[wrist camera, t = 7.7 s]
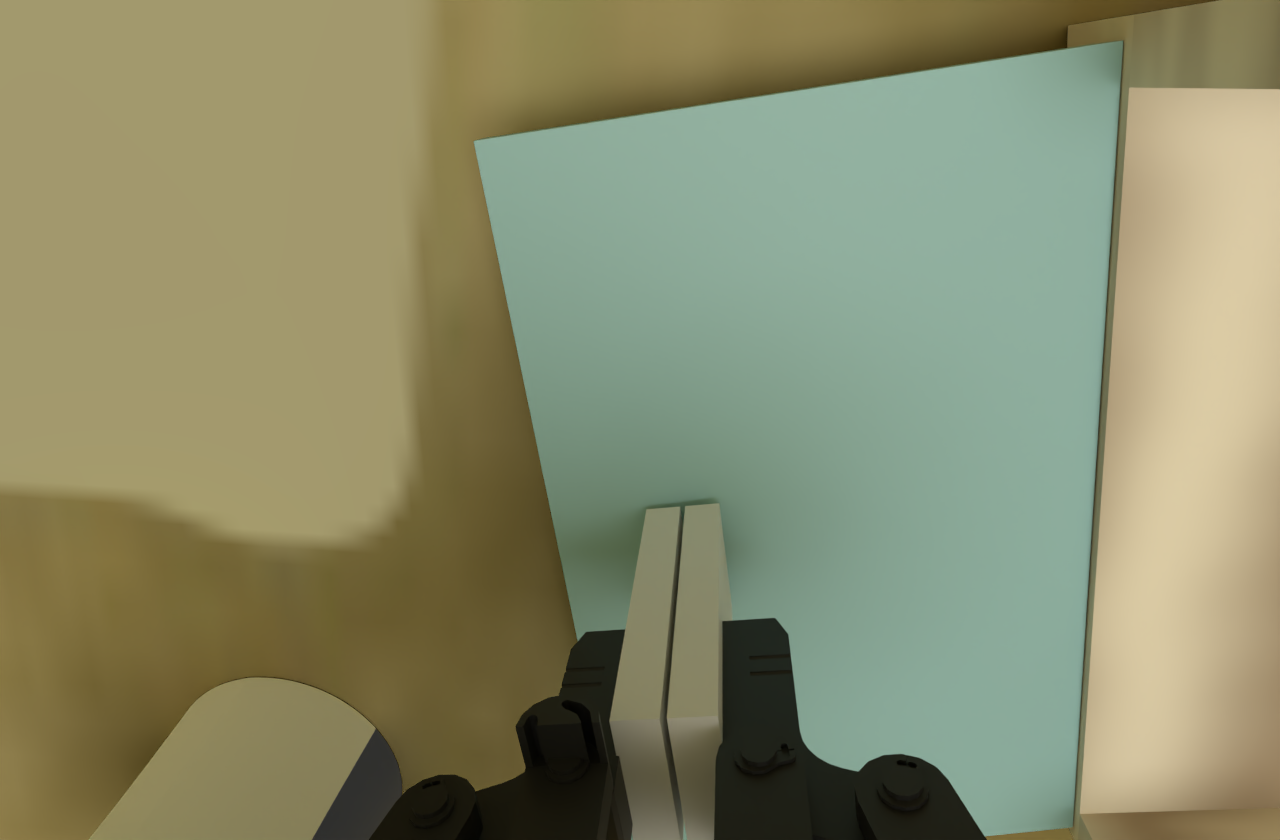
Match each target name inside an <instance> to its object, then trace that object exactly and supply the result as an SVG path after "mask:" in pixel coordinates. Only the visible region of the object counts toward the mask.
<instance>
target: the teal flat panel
mask: <svg viewBox="0 0 1280 840" xmlns="http://www.w3.org/2000/svg"><path fill="white" fill-rule="evenodd" d="M1122 53H1123V41H1114V42H1105V43H1096V44H1088V45H1082V46H1075V47H1069V48H1062V49H1056V50H1049V51H1043V52H1037V53H1030V54H1024V55H1017V56H1011V57H1004V58H998V59H991V60H985V61H978V62H972V63H965V64H959V65H953V66H946V67H940V68H933V69H927V70H920V71H914V72H907V73H901V74H894V75H888V76H882V77H875V78H869V79H862V80H856V81H849V82H843V83H836V84H830V85H823V86H817V87H810V88H804V89H798V90H791V91H785V92H778V93H772V94H765V95H759V96H752V97H746V98H739V99H733V100H726V101H720V102H714V103H707V104H701V105H694V106H688V107H681V108H675V109H668V110H662V111H655V112H649V113H643V114H636V115H630V116H623V117H617V118H610V119H604V120H597V121H591V122H584V123H578V124H571V125H565V126H559V127H552V128H546V129H539V130H533V131H526V132H520V133H513V134H507V135H500V136H494V137H487V138H483V139H479V140H475V141H474V145H475V150H476V155H477V160H478V164H479V169H480V174H481V179H482V184H483V188H484V193H485V198H486V203H487V208H488V212H489V217H490V222H491V227H492V232H493V236H494V241H495V246H496V251H497V256H498V261H499V265H500V270H501V275H502V280H503V285H504V289H505V294H506V299H507V304H508V309H509V313H510V318H511V323H512V328H513V333H514V337H515V342H516V347H517V352H518V357H519V361H520V366H521V371H522V376H523V381H524V385H525V390H526V395H527V400H528V405H529V409H530V414H531V419H532V424H533V429H534V434H535V438H536V443H537V448H538V453H539V458H540V462H541V467H542V472H543V477H544V482H545V486H546V491H547V496H548V501H549V506H550V510H551V515H552V520H553V525H554V530H555V534H556V539H557V544H558V549H559V554H560V558H561V563H562V568H563V573H564V578H565V582H566V587H567V592H568V597H569V602H570V607H571V611H572V616H573V621H574V626H575V631H576V635H577V640H578V641H579V639H580V638H581V637H582V636H583V635H584V634H585V632H590V631H606V630H621V629H626V623H627V617H628V612H629V606H630V600H631V595H632V589H633V583H634V577H635V572H636V566H637V560H638V555H639V549H640V543H641V537H642V532H643V526H644V520H645V515H646V509H657V508H668V507H680V509H681V516H682V523H683V525H684V513H685V506H692V505H704V504H716V503H719V505H720V513H721V521H722V529H723V537H724V546H725V554H726V562H727V570H728V578H729V586H730V594H731V602H732V620H748V619H763V618H776V619H777V621H778V622H779V623H780V624H781V626H782V627H783V628H784V629H785V631H786V632H787V633H788V636H789V644H790V653H791V661H792V669H793V678H794V686H795V694H796V703H797V711H798V720H799V728H800V733H801V736H802V740H803V742H804V743H805V745H806V746H807V748H808V749H809V750H810V751H811V752H812V753H813V754H814V755H816V756H817V757H818V758H820V759H822V760H823V761H825V762H827V763H829V764H832V765H835V766H838V767H841V768H844V769H849V770H853V771H859V770H860V769H861V768H862V767H863V766H864V765H865V764H866V763H867V762H868V761H870V760H873V759H875V758H878V757H880V756H882V755H892V754H904V755H909V756H914V757H918V758H921V759H923V760H925V761H927V762H928V763H930V764H932V765H934V766H936V767H937V768H938V769H939V770H940V771H941V772H942V773H943V774H944V776H945V777H946V778H947V779H948V780H949V782H950V783H951V785H952V786H953V788H954V789H955V791H956V793H957V794H958V796H959V797H960V799H961V800H962V802H963V803H964V805H965V807H966V808H967V810H968V811H969V813H970V814H971V816H972V818H973V819H974V821H975V822H976V824H977V825H978V827H979V828H980V830H981V832H982V833H983V835H984V836H992V835H1002V834H1012V833H1021V832H1031V831H1041V830H1051V829H1060V828H1070V827H1073V814H1074V799H1075V783H1076V768H1077V752H1078V737H1079V721H1080V706H1081V690H1082V675H1083V659H1084V643H1085V628H1086V612H1087V597H1088V581H1089V566H1090V550H1091V535H1092V519H1093V504H1094V488H1095V472H1096V457H1097V441H1098V426H1099V410H1100V395H1101V379H1102V364H1103V348H1104V333H1105V317H1106V302H1107V286H1108V270H1109V255H1110V239H1111V224H1112V208H1113V193H1114V177H1115V162H1116V146H1117V131H1118V115H1119V99H1120V84H1121V68H1122ZM631 840H633V836H631ZM683 840H687V835H686V830H685V824H684V833H683Z"/></svg>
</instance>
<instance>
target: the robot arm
mask: <svg viewBox="0 0 1280 840" xmlns="http://www.w3.org/2000/svg"><path fill="white" fill-rule="evenodd" d="M516 731H517V735H518V739H519V742H520V746H521V750H522V754H523V758H524V762H525V766H526V769H525V772H524V773H522V774H521V775H519V776H517V777H516V778H514V779H512V780H509V781H507V782H504V783H502V784H498V785H495V786H492V787H489V788H485V789H482V790H479V791H476V792H475V790H474V788H473V787H472V785H471V784H470V783H469V782H468V780H467V779H464V778H462V777H459V776H456V775H438V776H434V777H431V778H428V779H425V780H422V781H421V782H419V783H417V784H416V785H414V786H412V787H411V788H409V789H408V790H407V791H406V792H405V793H404V794H403V795H402V796H401V797H400V798H399V799H398V800H397V801H396V802H395V804H394V805H393V807H392V808H391V809H390V811H389V812H388V813H387V815H386V816H385V818H384V819H383V820H382V822H381V823H380V825H379V826H378V827H377V829H376V830H375V832H374V833H373V834H372V836H371V837H370V839H369V840H631V836H633V840H683V833H684V824H685V830H686V835H687V840H987V839H986V838H985V836H984V835H983V833H982V832H981V830H980V828H979V827H978V825H977V824H976V822H975V821H974V819H973V818H972V816H971V814H970V813H969V811H968V810H967V808H966V807H965V805H964V803H963V802H962V800H961V799H960V797H959V796H958V794H957V793H956V791H955V789H954V788H953V786H952V785H951V783H950V782H949V780H948V779H947V778H946V777H945V776H944V774H943V773H942V772H941V771H940V770H939V769H938V768H937V767H936V766H934V765H932V764H930V763H928V762H927V761H925V760H923V759H921V758H918V757H914V756H909V755H904V754H892V755H882V756H880V757H878V758H875V759H873V760H870V761H868V762H867V763H866V764H865V765H864V766H863V767H862V768H861V769H860V770H859V771H853V770H849V769H844V768H841V767H838V766H835V765H832V764H829V763H827V762H825V761H823V760H822V759H820V758H818V757H817V756H816V755H814V754H813V753H812V752H811V751H810V750H809V749H808V748H807V746H806V745H805V743H804V742H803V740H802V736H801V733H800V728H799V720H798V711H797V703H796V694H795V686H794V678H793V669H792V661H791V653H790V644H789V636H788V633H787V632H786V631H785V629H784V628H783V627H782V626H781V624H780V623H779V622H778V621H777V619H776V618H763V619H748V620H732V602H731V594H730V586H729V578H728V570H727V562H726V554H725V546H724V537H723V529H722V521H721V513H720V505H719V503H716V504H704V505H692V506H685V513H684V525H683V523H682V516H681V509H680V507H668V508H657V509H646V515H645V520H644V526H643V532H642V537H641V543H640V549H639V555H638V560H637V566H636V572H635V577H634V583H633V589H632V595H631V600H630V606H629V612H628V617H627V623H626V629H621V630H606V631H590V632H585V634H584V635H583V636H582V637H581V638H580V639H579V641H578V642H577V643H576V644H575V645H574V647H573V648H572V649H571V652H570V656H569V659H568V663H567V667H566V672H565V674H564V678H563V682H562V688H561V690H560V693H559V696H555V697H550V698H547V699H545V700H543V701H541V702H539V703H536V704H534V705H533V706H532V707H531V708H530V709H528V710H527V711H526V712H525V713H524V714H523V715H522V716H521V718H520V720H519V721H518V723H517V725H516Z"/></svg>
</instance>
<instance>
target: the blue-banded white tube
mask: <svg viewBox="0 0 1280 840" xmlns="http://www.w3.org/2000/svg"><path fill="white" fill-rule="evenodd" d="M401 796H402V780H401V774H400V770H399V767H398V764H397V761H396V759H395V756H394V754H393V752H392V750H391V749H390V747H389V745H388V744H387V742H386V741H385V739H384V738H383V736H382V735H381V734H380V733H379V732H378V730H377V729H376V728H375V727H374V726H373V725H372V724H371V723H370V722H369V721H368V720H367V719H366V718H365V717H364V716H362V715H361V714H360V713H359V712H358V711H356V710H355V709H354V708H352V707H351V706H349V705H348V704H346V703H345V702H343V701H341V700H340V699H338V698H336V697H334V696H332V695H330V694H328V693H326V692H324V691H322V690H319V689H317V688H314V687H311V686H308V685H305V684H302V683H298V682H294V681H290V680H284V679H277V678H260V677H254V678H244V679H239V680H235V681H231V682H227V683H224V684H222V685H219V686H217V687H215V688H213V689H211V690H209V691H208V692H206V693H205V694H203V695H202V696H201V697H200V698H198V699H197V700H196V701H195V702H194V703H193V704H192V706H191V707H190V708H189V709H188V711H187V712H186V713H185V715H184V716H183V717H182V719H181V720H180V721H179V723H178V724H177V725H176V727H175V728H174V729H173V731H172V732H171V733H170V735H169V736H168V737H167V739H166V740H165V741H164V743H163V744H162V745H161V747H160V748H159V749H158V751H157V752H156V753H155V755H154V756H153V757H152V759H151V760H150V761H149V763H148V764H147V765H146V767H145V768H144V769H143V770H142V772H141V773H140V774H139V776H138V777H137V778H136V780H135V781H134V782H133V784H132V785H131V786H130V787H129V789H128V790H127V791H126V793H125V794H124V795H123V796H122V798H121V799H120V800H119V802H118V803H117V804H116V806H115V807H114V808H113V809H112V811H111V812H110V813H109V814H108V816H107V817H106V818H105V819H104V821H103V822H102V823H101V824H100V826H99V827H98V828H97V830H96V831H95V832H94V833H93V835H92V836H91V837H90V838H89V840H369V839H370V837H371V836H372V834H373V833H374V832H375V830H376V829H377V827H378V826H379V825H380V823H381V822H382V820H383V819H384V818H385V816H386V815H387V813H388V812H389V811H390V809H391V808H392V807H393V805H394V804H395V802H396V801H397V800H398V799H399V798H400V797H401Z"/></svg>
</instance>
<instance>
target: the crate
mask: <svg viewBox="0 0 1280 840" xmlns="http://www.w3.org/2000/svg"><path fill="white" fill-rule="evenodd" d="M1114 41H1123V53H1122V68H1121V84H1120V99H1119V115H1118V131H1117V146H1116V162H1115V177H1114V193H1113V208H1112V224H1111V239H1110V255H1109V270H1108V286H1107V302H1106V317H1105V333H1104V348H1103V364H1102V379H1101V395H1100V410H1099V426H1098V441H1097V457H1096V472H1095V488H1094V504H1093V519H1092V535H1091V550H1090V566H1089V581H1088V597H1087V612H1086V628H1085V643H1084V659H1083V675H1082V690H1081V706H1080V721H1079V737H1078V752H1077V768H1076V783H1075V799H1074V814H1073V827H1070V828H1068V829H1069V831H1070V833H1071V835H1072V837H1073V839H1074V840H1280V0H1219V1H1213V2H1207V3H1201V4H1195V5H1189V6H1183V7H1177V8H1171V9H1165V10H1159V11H1153V12H1147V13H1141V14H1135V15H1129V16H1123V17H1117V18H1111V19H1104V20H1098V21H1092V22H1086V23H1080V24H1074V25H1068V36H1067V48H1069V47H1075V46H1082V45H1088V44H1096V43H1105V42H1114Z"/></svg>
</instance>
